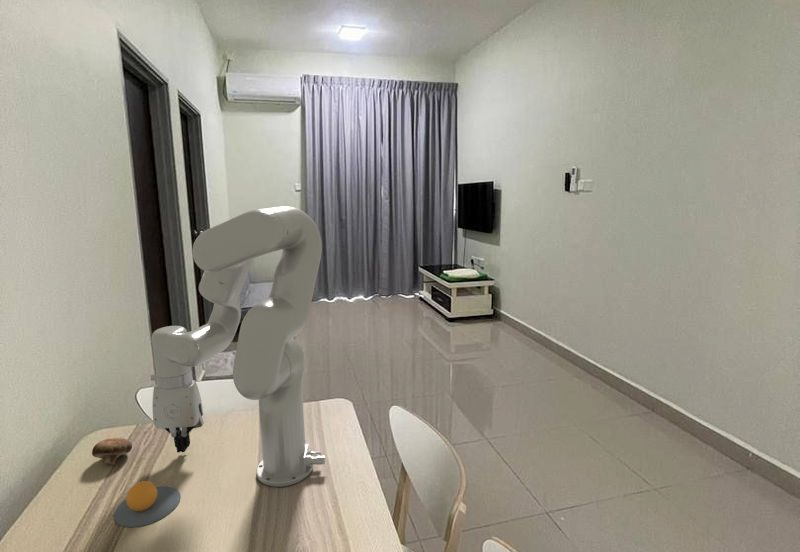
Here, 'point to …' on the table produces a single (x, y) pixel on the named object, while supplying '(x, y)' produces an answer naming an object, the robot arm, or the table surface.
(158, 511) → the disc
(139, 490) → the ball
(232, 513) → the table surface
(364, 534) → the table surface
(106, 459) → the mushroom
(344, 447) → the table surface
